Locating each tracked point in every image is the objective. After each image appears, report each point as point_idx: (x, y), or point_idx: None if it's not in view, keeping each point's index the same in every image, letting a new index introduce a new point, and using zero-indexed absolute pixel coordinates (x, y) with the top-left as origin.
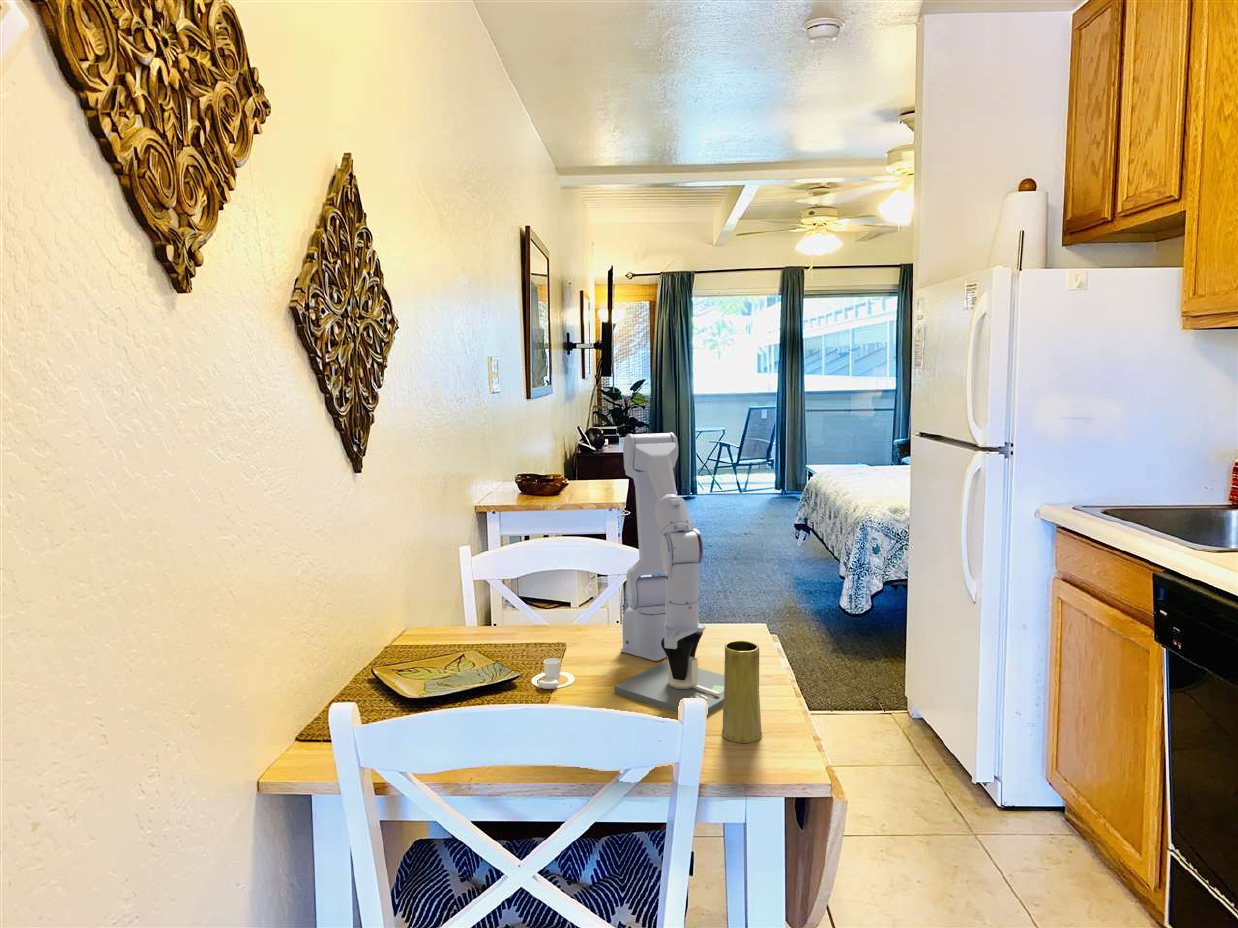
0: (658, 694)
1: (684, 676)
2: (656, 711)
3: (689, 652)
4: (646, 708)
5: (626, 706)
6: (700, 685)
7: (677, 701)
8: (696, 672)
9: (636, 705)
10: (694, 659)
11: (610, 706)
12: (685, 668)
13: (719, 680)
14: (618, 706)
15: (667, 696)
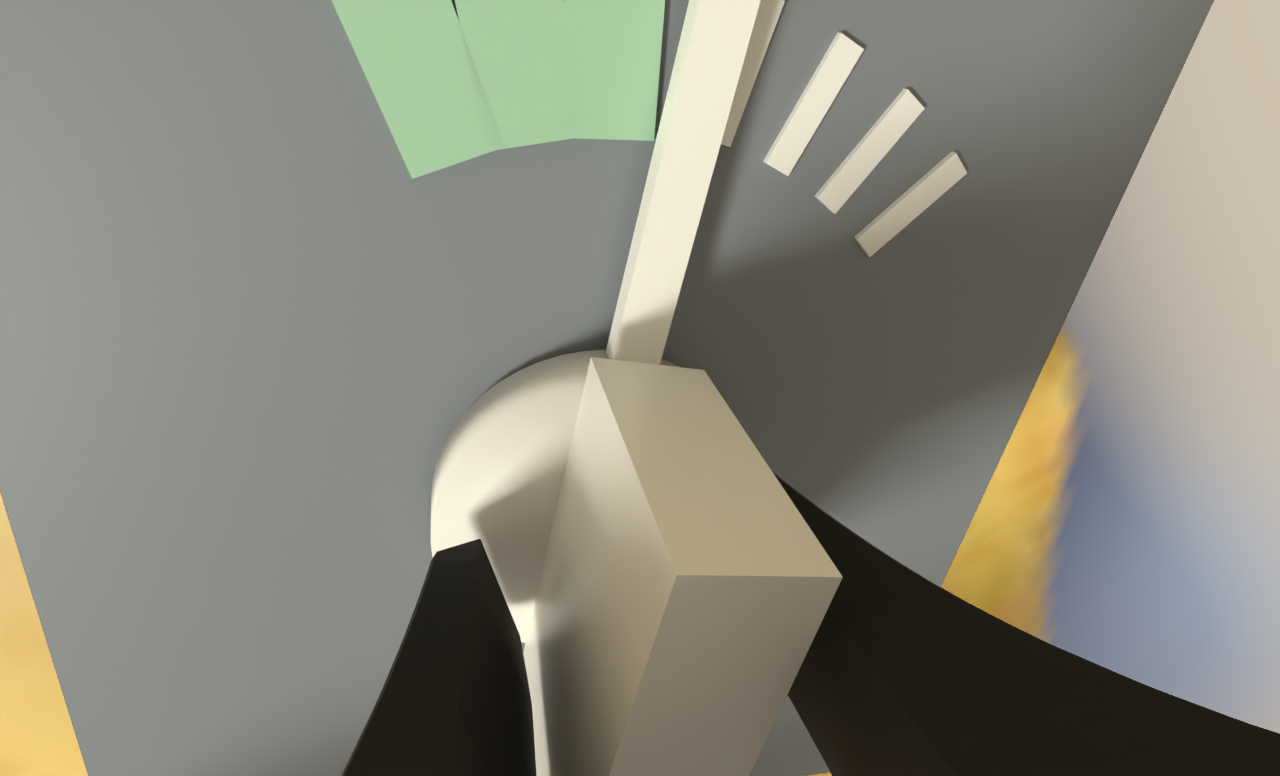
0: (897, 506)
1: (782, 482)
2: (1039, 380)
3: (1171, 727)
4: (1005, 462)
5: (1004, 568)
6: (505, 324)
7: (990, 303)
8: (645, 425)
9: (974, 536)
10: (742, 590)
11: (1024, 626)
12: (857, 541)
13: (170, 200)
14: (1014, 598)
15: (908, 432)
